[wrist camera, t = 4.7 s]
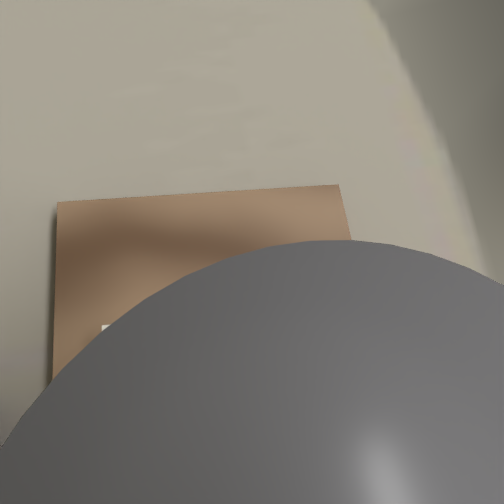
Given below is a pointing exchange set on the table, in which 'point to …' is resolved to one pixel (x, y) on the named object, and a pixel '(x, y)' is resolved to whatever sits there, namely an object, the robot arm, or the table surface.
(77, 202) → the walnut board
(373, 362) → the orange cylinder grey ends
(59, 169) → the table surface
